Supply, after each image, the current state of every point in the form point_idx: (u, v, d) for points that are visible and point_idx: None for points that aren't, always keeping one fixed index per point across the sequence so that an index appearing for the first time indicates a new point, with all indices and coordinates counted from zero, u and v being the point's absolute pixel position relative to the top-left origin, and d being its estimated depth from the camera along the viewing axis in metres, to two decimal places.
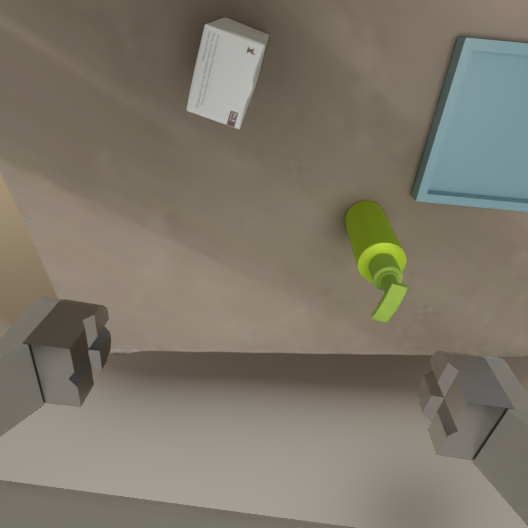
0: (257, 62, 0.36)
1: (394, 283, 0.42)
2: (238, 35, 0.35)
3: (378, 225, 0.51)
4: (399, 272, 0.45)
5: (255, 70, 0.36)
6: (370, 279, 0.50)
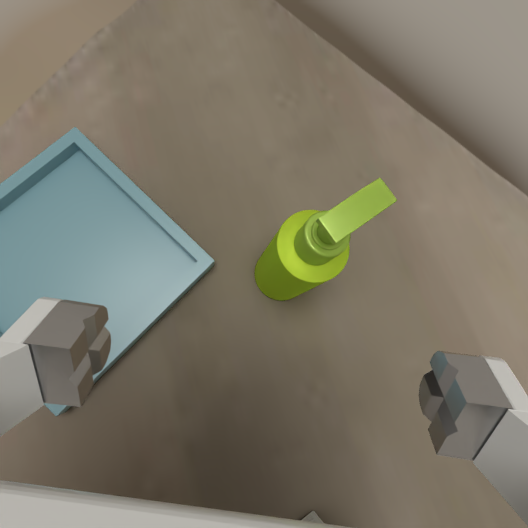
0: None
1: (332, 239, 0.24)
2: None
3: (278, 282, 0.34)
4: (307, 233, 0.27)
5: None
6: None
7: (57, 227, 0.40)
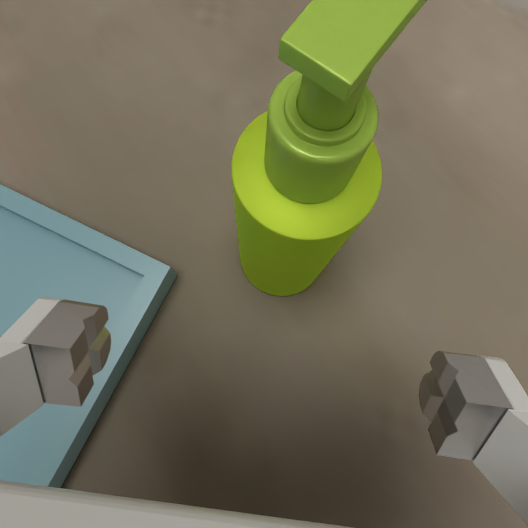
0: None
1: (337, 84, 0.08)
2: None
3: (272, 264, 0.19)
4: (277, 125, 0.11)
5: None
6: None
7: None
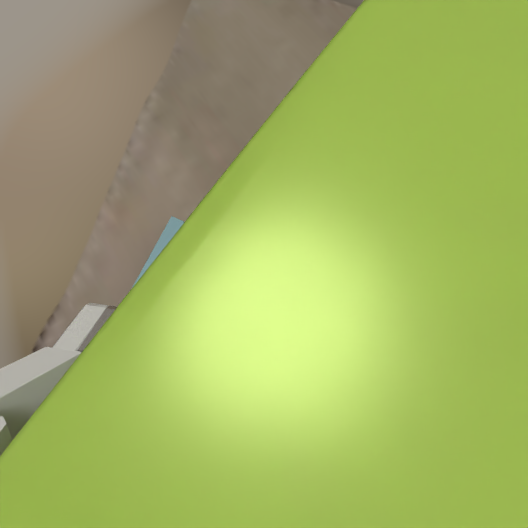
0: None
1: None
2: None
3: None
4: None
5: None
6: None
7: None
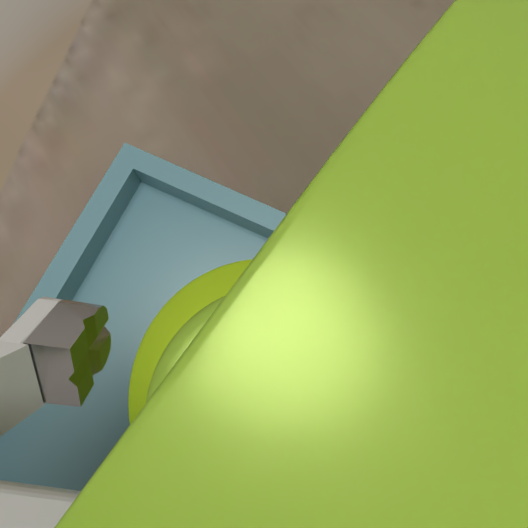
0: None
1: None
2: None
3: None
4: None
5: None
6: None
7: None
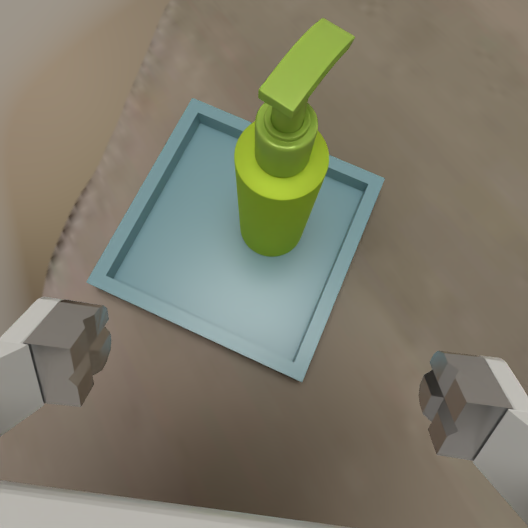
0: None
1: (287, 110, 0.17)
2: None
3: (263, 224, 0.28)
4: (260, 130, 0.20)
5: None
6: None
7: (213, 203, 0.37)
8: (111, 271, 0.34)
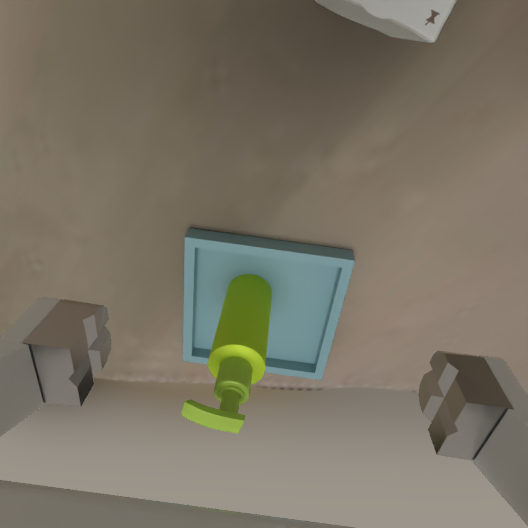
0: (413, 28, 0.23)
1: (243, 420, 0.34)
2: None
3: None
4: (242, 403, 0.37)
5: (402, 24, 0.23)
6: (212, 357, 0.39)
7: None
8: (311, 369, 0.56)
